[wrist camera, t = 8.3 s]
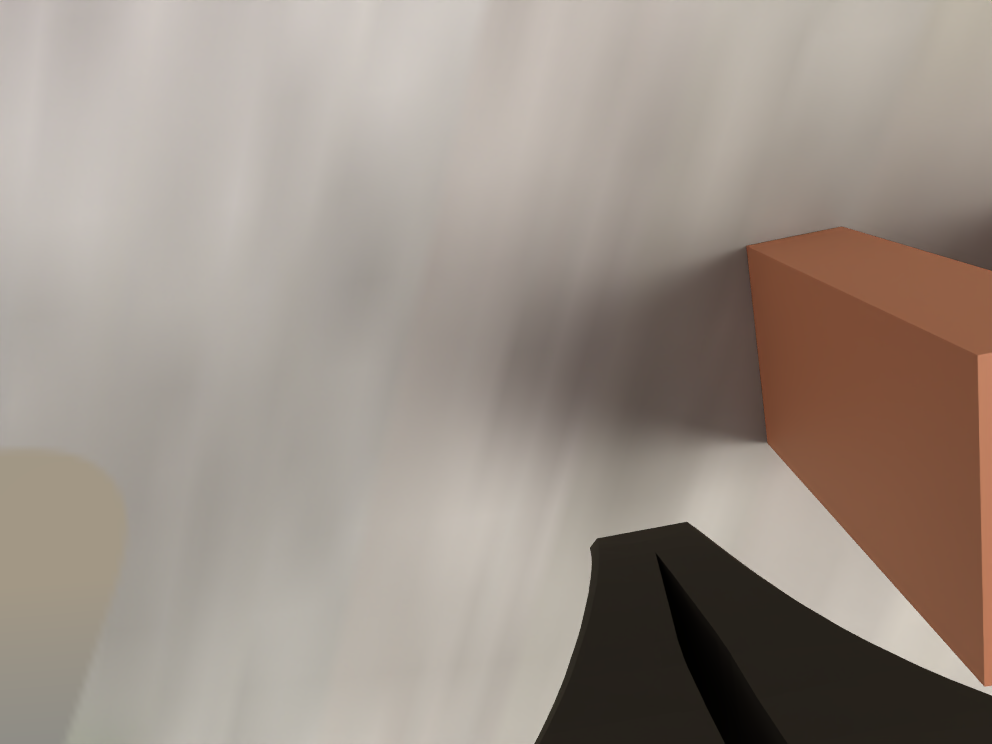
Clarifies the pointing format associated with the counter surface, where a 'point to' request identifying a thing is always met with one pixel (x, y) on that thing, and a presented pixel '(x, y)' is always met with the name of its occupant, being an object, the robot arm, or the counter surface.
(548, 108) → the counter surface
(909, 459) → the domino
